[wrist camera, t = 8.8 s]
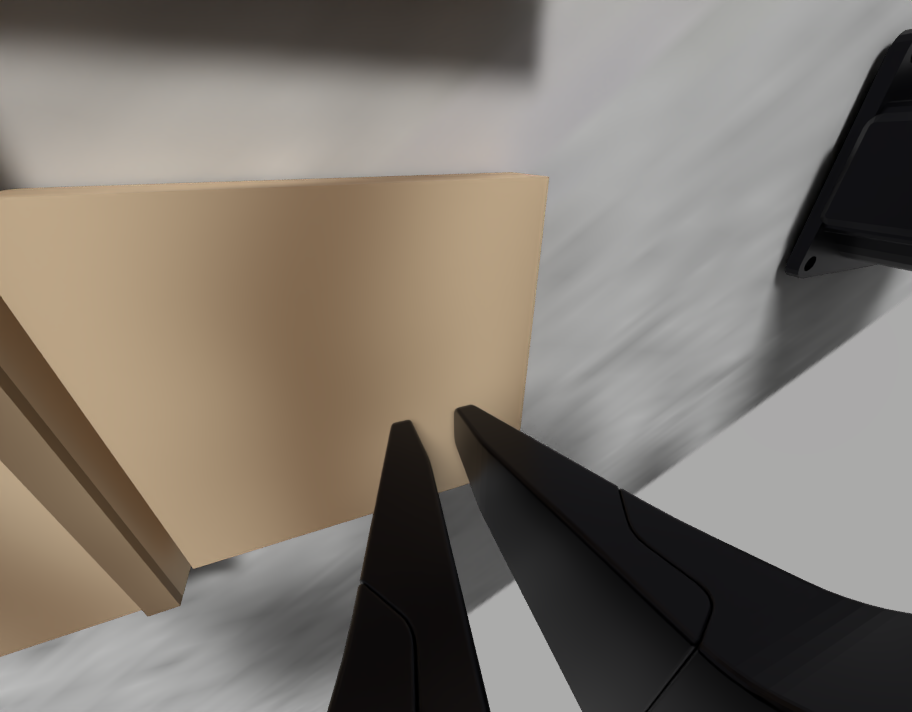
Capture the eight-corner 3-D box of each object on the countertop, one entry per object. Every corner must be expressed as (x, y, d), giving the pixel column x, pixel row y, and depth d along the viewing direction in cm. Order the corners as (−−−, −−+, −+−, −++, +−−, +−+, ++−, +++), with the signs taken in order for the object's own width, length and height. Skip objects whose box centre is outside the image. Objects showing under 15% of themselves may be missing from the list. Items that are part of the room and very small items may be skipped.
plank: (511, 172, 7) (549, 177, 6) (494, 436, 11) (515, 469, 10) (16, 188, 5) (-68, 200, 4) (207, 515, 9) (193, 568, 8)
